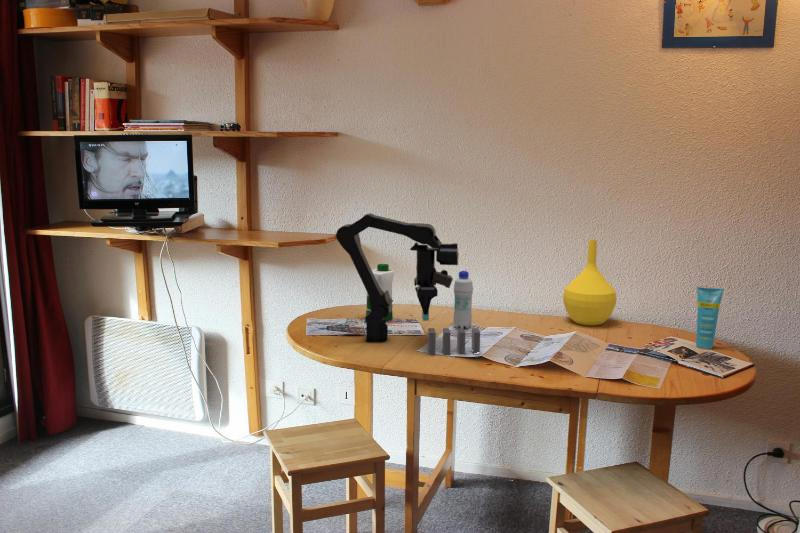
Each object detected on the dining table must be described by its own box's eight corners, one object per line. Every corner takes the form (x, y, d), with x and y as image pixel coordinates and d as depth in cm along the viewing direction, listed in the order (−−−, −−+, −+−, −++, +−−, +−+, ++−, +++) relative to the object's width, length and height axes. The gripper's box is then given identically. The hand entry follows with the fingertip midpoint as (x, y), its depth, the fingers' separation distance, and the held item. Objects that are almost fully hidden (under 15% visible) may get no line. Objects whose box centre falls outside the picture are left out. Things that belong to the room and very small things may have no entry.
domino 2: (429, 355, 205) (429, 332, 203) (428, 350, 209) (428, 328, 208) (435, 355, 205) (435, 332, 203) (433, 350, 210) (434, 328, 208)
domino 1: (423, 320, 214) (423, 299, 213) (422, 316, 219) (422, 295, 217) (428, 320, 214) (429, 299, 213) (427, 316, 219) (427, 295, 218)
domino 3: (444, 355, 205) (444, 332, 203) (442, 349, 210) (442, 328, 208) (450, 354, 205) (450, 332, 203) (448, 349, 210) (448, 328, 208)
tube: (692, 347, 213) (698, 288, 209) (691, 343, 217) (696, 285, 214) (718, 350, 211) (724, 289, 207) (716, 345, 215) (722, 286, 212)
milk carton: (396, 319, 244) (396, 265, 241) (379, 324, 238) (379, 268, 234) (378, 315, 250) (378, 262, 246) (361, 320, 243) (361, 265, 240)
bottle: (471, 330, 231) (472, 273, 227) (451, 329, 232) (452, 272, 229) (473, 325, 238) (474, 269, 234) (454, 324, 239) (455, 268, 235)
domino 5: (473, 354, 205) (474, 332, 204) (471, 349, 210) (471, 328, 209) (479, 354, 205) (480, 332, 204) (477, 349, 210) (477, 328, 209)
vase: (625, 324, 240) (631, 241, 235) (591, 332, 230) (596, 245, 224) (585, 313, 255) (589, 234, 249) (551, 320, 245) (555, 238, 239)
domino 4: (458, 354, 205) (459, 332, 204) (457, 349, 210) (457, 328, 208) (464, 354, 205) (465, 332, 204) (462, 349, 210) (463, 328, 209)
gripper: (454, 269, 204) (453, 319, 207) (448, 259, 223) (447, 305, 225) (417, 270, 204) (417, 320, 207) (414, 259, 222) (414, 305, 225)
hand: (425, 312), depth 216 cm, fingers closed on domino 1, 5 cm apart
